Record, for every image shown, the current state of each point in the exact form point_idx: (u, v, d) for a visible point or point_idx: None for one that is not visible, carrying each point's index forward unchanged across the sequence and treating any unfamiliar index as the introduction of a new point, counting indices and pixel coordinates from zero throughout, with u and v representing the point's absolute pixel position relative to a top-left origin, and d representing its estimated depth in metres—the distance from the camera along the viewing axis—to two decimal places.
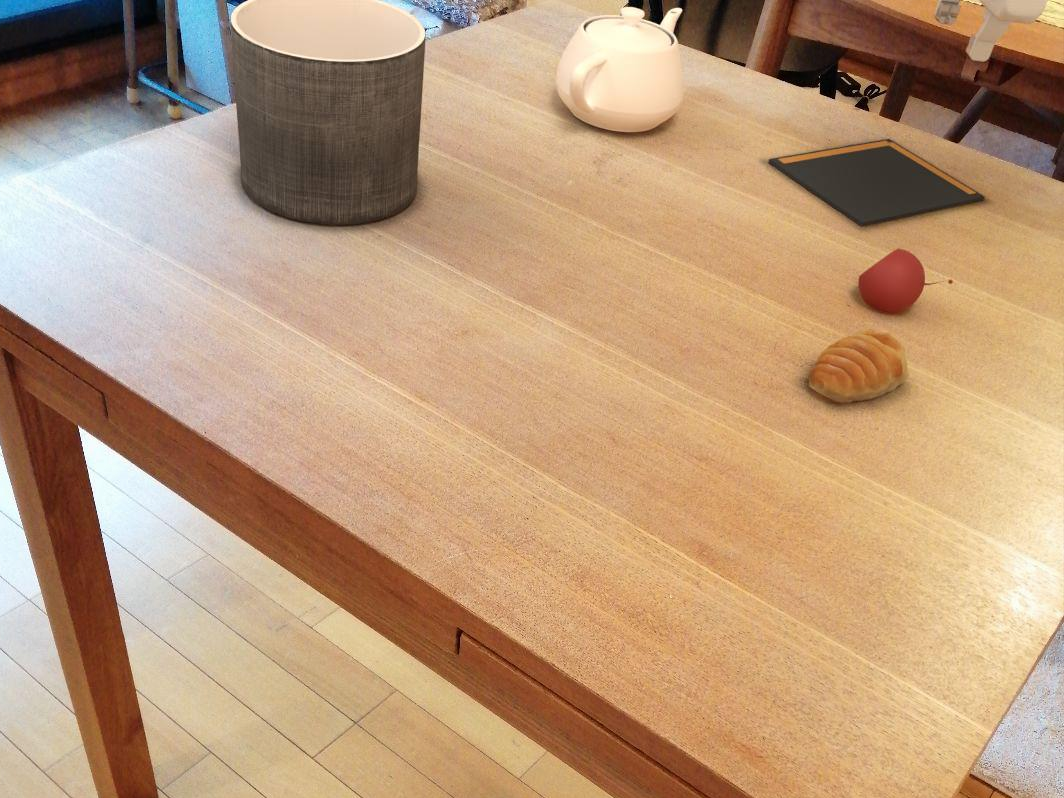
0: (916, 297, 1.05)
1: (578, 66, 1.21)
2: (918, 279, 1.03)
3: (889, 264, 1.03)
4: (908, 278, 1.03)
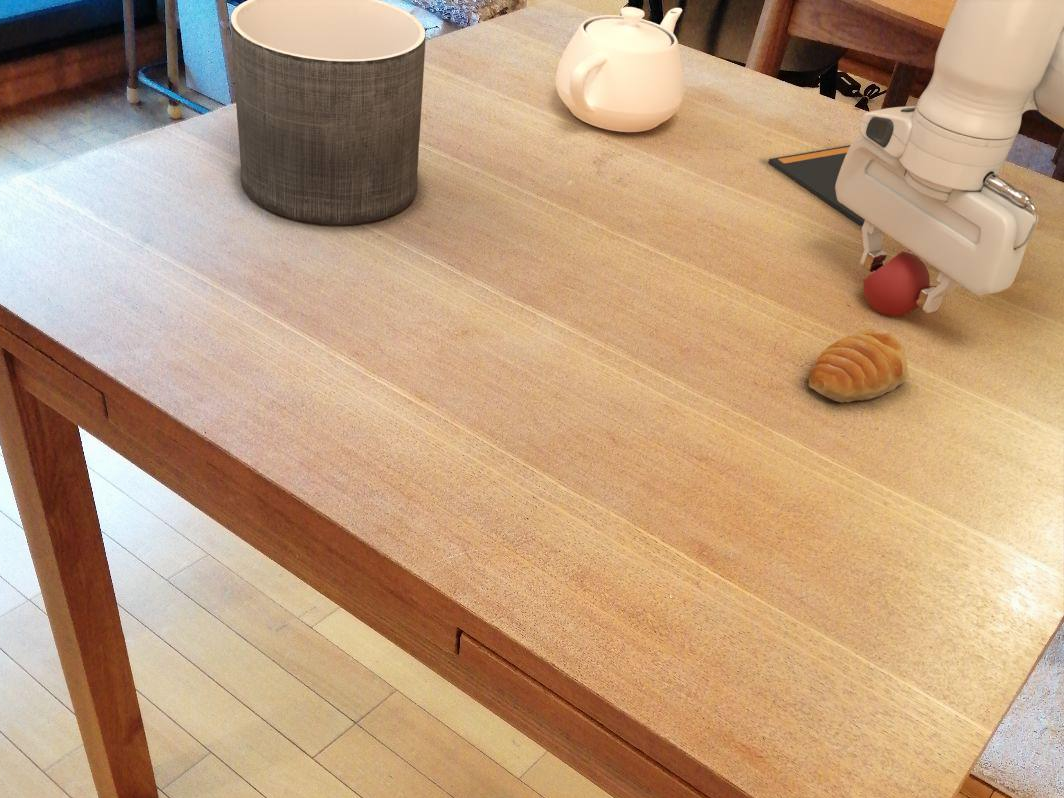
0: None
1: (578, 66, 1.21)
2: (923, 282, 1.03)
3: (895, 268, 1.03)
4: (913, 281, 1.03)
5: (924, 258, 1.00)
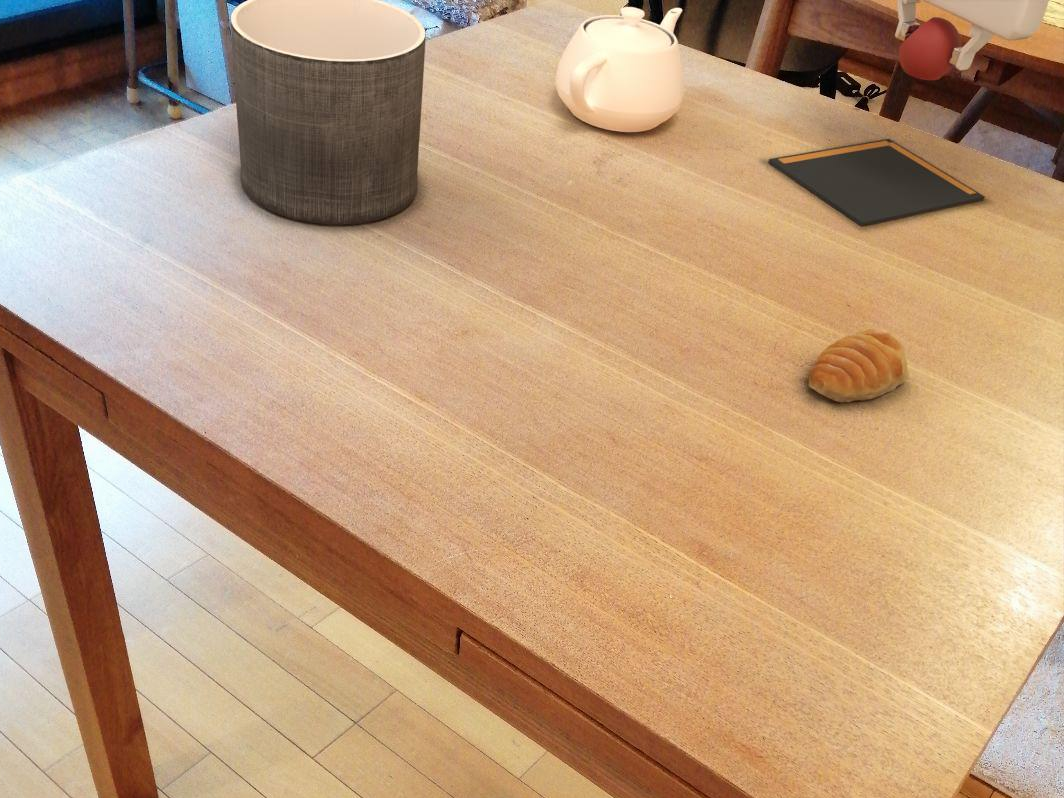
0: None
1: (578, 66, 1.21)
2: (955, 43, 1.12)
3: (929, 29, 1.12)
4: (946, 41, 1.11)
5: (957, 13, 1.09)
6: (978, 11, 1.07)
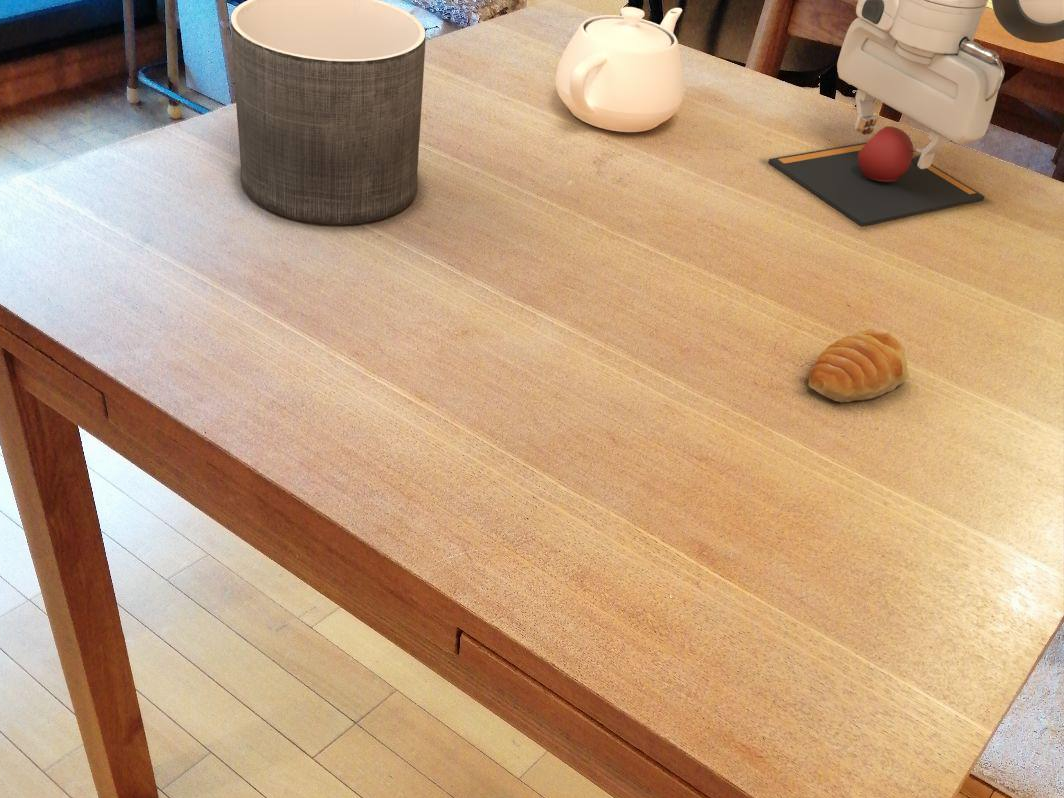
0: (908, 163, 1.24)
1: (578, 66, 1.21)
2: (908, 147, 1.23)
3: (882, 137, 1.23)
4: (899, 146, 1.23)
5: (912, 117, 1.20)
6: (931, 116, 1.17)
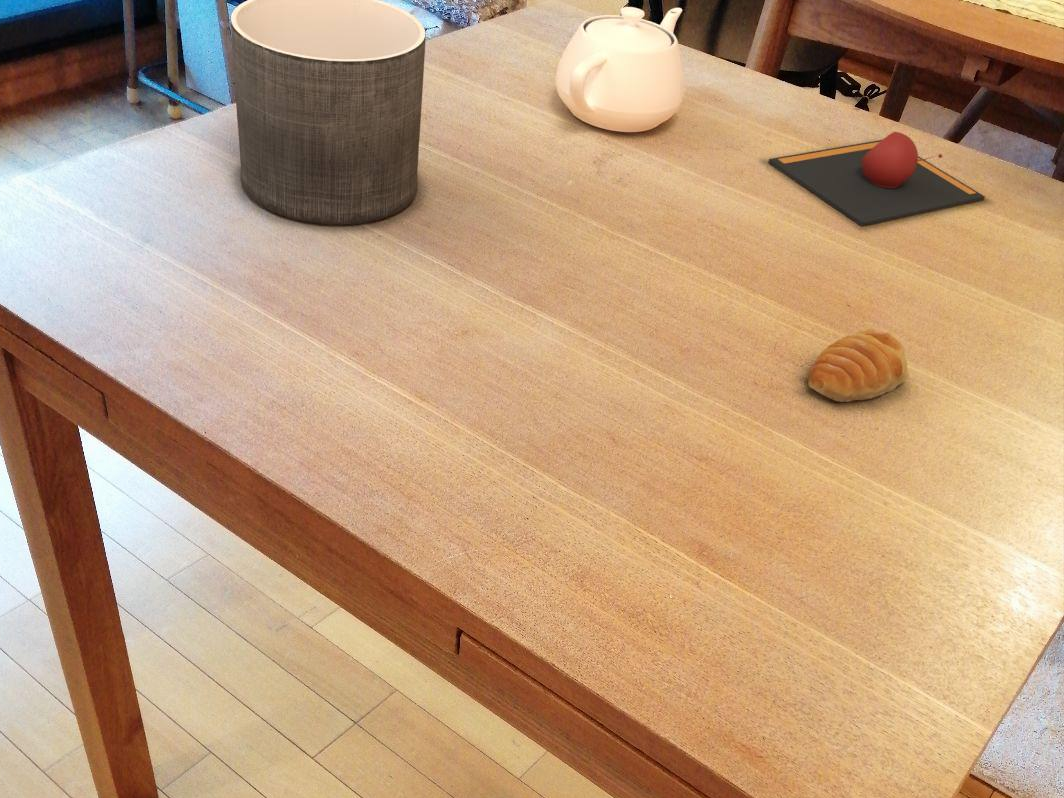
0: (911, 172, 1.25)
1: (578, 66, 1.21)
2: (913, 156, 1.23)
3: (889, 144, 1.23)
4: (905, 155, 1.23)
5: None
6: None
